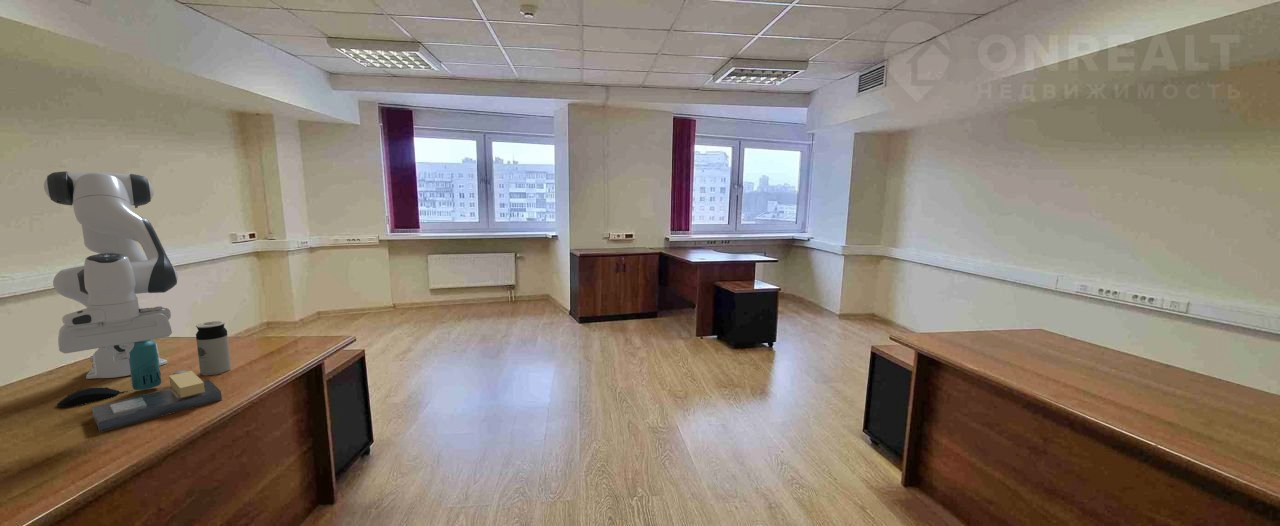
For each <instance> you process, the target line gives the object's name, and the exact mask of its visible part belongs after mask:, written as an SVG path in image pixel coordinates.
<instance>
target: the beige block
mask: <svg viewBox="0 0 1280 526" xmlns="http://www.w3.org/2000/svg"><path fill="white" fill-rule="evenodd" d="M168 378H169V384H170V386H171V387H172V388H174V390H175V391H176V392H177V393H178V394H179V395H180V397H181V398H182V397H186V396H190V395H194V394H198V393H202V392H205V388H204V382H203V381H204V380H202V379H201V378H200V377H199V376H198V375H197V374H196V373H195V372H194V371H192V370H189V371H187V370H178V371H174V372H173V373H172V374H169V375H168Z"/></svg>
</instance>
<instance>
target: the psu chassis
mask: <svg viewBox="0 0 1280 526" xmlns="http://www.w3.org/2000/svg"><path fill="white" fill-rule="evenodd" d="M202 381H203V382H204V388H205V392H202V393H198V394H194V395H190V396H186V397H182V398H181V397H180V395H179V394H178V393H177V392H176V391H175V390H174V388H173V387H172V388H171V387H170V388H168V389H163V390H160V391H154V392H151V393H146V394H142V395H141V394H140V395H138V396H134V397H129V398H125V399H120V400H117V401H116V400H115V401H112V402H108V403H103V404H100V405H95V406H92V407H91V410H92V417H93V419H94V421H95V424H96V426H97V428H98V431H99V433H103V432H107V431H110V430H113V429H114V430H115V429H118V428H121V426H122V427H126V426H129V424H130V425H133V424H136V423H141V422H144V420H145V421H148V420H151V418H152V419H155V417H156V418H159V416H160V417H163V416H166V414H167V415H170V414H169V413H171V414H174V413H173V412H175V413H179V412H182V411H185V409H186V410H189V409H188V408H190V409H193V408H192V407H194V408H197V407H201V406H204V404H205V405H208V404H209V405H210V404H213V403H216V402H219V401H222V400H223V398H222V392H221V390H220V389H219V388H218V387H217V386H216V385H215V384H214V383H213V382H212V381H211V380H210V379H206V380H202ZM200 405H201V406H200ZM196 406H197V407H196ZM181 410H182V411H181ZM162 415H163V416H162ZM147 419H148V420H147ZM140 421H141V422H140ZM125 425H126V426H125Z"/></svg>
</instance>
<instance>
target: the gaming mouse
mask: <svg viewBox="0 0 1280 526" xmlns="http://www.w3.org/2000/svg"><path fill="white" fill-rule="evenodd" d="M128 391H129V390H128ZM128 391H127V390H126V391H125V390H124V391H123V390H122V391H120V390H117V389H115V388H110V387H87V388H82V389H79V390H77V391H74V392H72V393H69V394H67V395H66V396H65V397H64V398H62V399H61V400H60V401H58V402H57V404H56V407H61V408H62V407H63V408H72V406H73V407H78V406H82V405H81V404H83V405H86V404H85V403H87V404H92V403H96V402H100V400H101V401H104V399H105V400H108V398H109V399H111V397H112V398H114V396H115V397H117V396H119V395H120V394H119V393H121V394H125V393H124V392H126V393H129V392H128ZM118 394H119V395H118ZM95 401H96V402H95ZM91 402H92V403H91ZM77 405H78V406H77Z"/></svg>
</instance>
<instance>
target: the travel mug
mask: <svg viewBox="0 0 1280 526" xmlns="http://www.w3.org/2000/svg"><path fill="white" fill-rule="evenodd" d="M225 324H226V321H223V320H216V321H215V320H214V321H213V320H212V321H206V322H205V321H204V322H201V323H200V322H199V323H198V324H196V325H195V328H196V329H197V332H196V333H195V340H196V347H197V348H196V349H197V355H198V357H197V358H198V364H199V372H200V375H202V376H212V375H213V376H215V375H218V374H222V373H225V372H228V371H230V370H231V369H232V366H231V365H232V363H231V356H230V355H231V354H230V353H231V352H230V345H229V344H230V343H229V336H228V330H227V328H226V327H225Z"/></svg>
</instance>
